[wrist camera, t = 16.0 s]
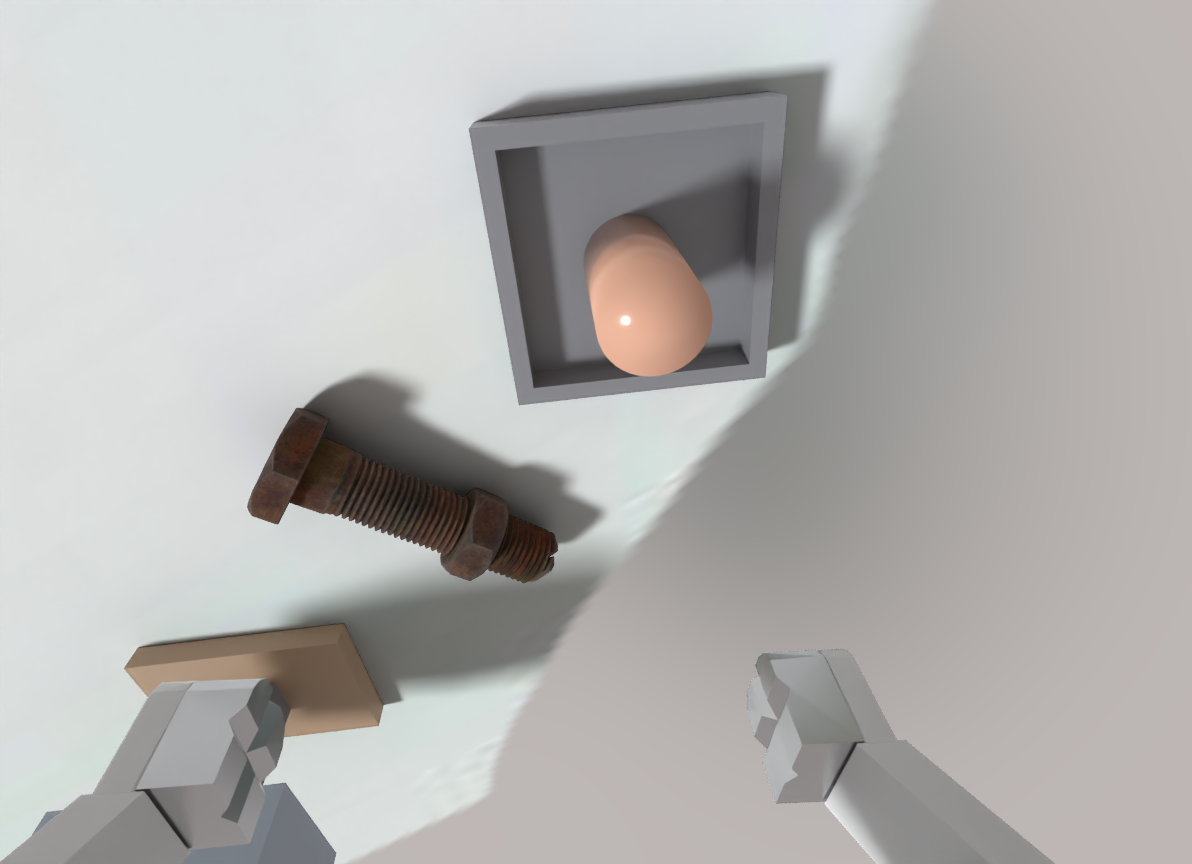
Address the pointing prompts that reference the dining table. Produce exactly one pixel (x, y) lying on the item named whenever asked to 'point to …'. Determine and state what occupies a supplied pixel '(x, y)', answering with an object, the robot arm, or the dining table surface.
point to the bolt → (398, 505)
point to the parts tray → (641, 187)
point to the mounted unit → (309, 704)
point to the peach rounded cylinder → (644, 297)
